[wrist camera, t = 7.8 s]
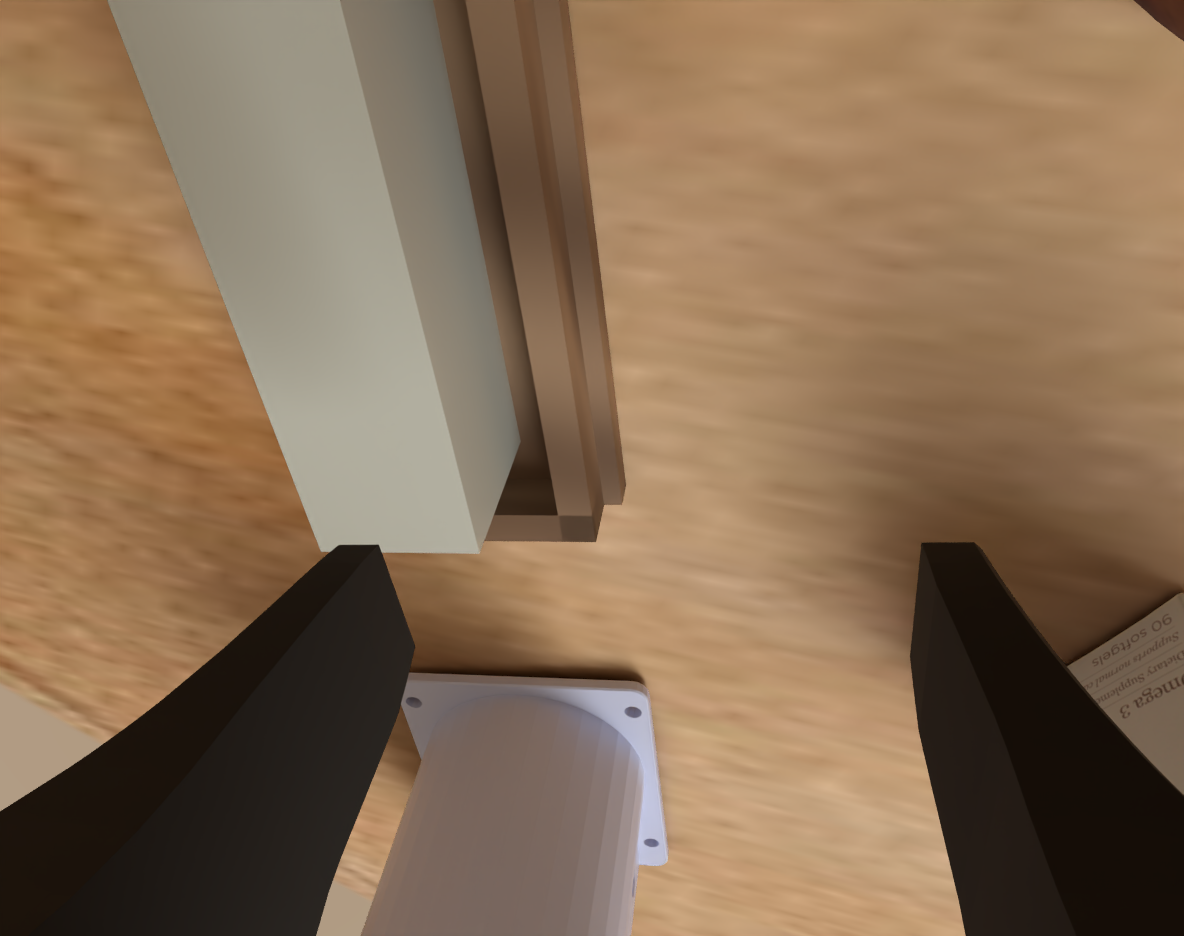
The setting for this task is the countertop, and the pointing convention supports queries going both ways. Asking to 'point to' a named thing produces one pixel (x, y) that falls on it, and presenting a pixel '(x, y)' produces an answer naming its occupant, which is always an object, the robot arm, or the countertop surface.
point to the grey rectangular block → (341, 252)
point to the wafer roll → (1166, 14)
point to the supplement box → (1144, 685)
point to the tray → (538, 260)
